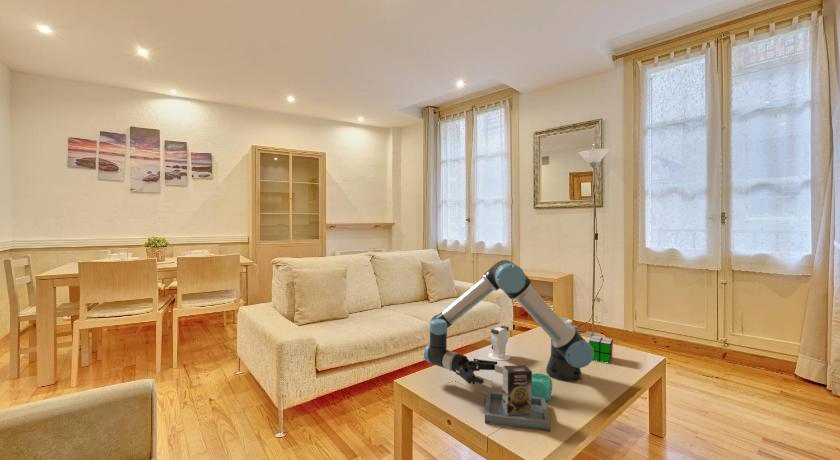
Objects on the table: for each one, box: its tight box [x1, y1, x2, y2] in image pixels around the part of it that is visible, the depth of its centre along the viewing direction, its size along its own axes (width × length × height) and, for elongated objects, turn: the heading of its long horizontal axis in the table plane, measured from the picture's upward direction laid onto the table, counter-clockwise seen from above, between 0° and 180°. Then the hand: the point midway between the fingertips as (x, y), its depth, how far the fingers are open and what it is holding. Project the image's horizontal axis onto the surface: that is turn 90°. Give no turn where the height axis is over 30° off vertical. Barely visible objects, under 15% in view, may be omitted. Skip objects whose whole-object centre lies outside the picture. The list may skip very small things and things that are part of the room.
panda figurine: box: [487, 325, 511, 362], centre depth 194 cm, size 12×11×15 cm
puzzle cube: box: [588, 335, 614, 364], centre depth 193 cm, size 10×10×10 cm
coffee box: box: [501, 364, 533, 416], centre depth 138 cm, size 9×6×16 cm
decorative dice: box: [531, 373, 553, 402], centre depth 151 cm, size 8×8×8 cm
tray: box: [484, 391, 551, 432], centre depth 138 cm, size 22×18×3 cm
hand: (501, 378), depth 142 cm, fingers open, 13 cm apart
